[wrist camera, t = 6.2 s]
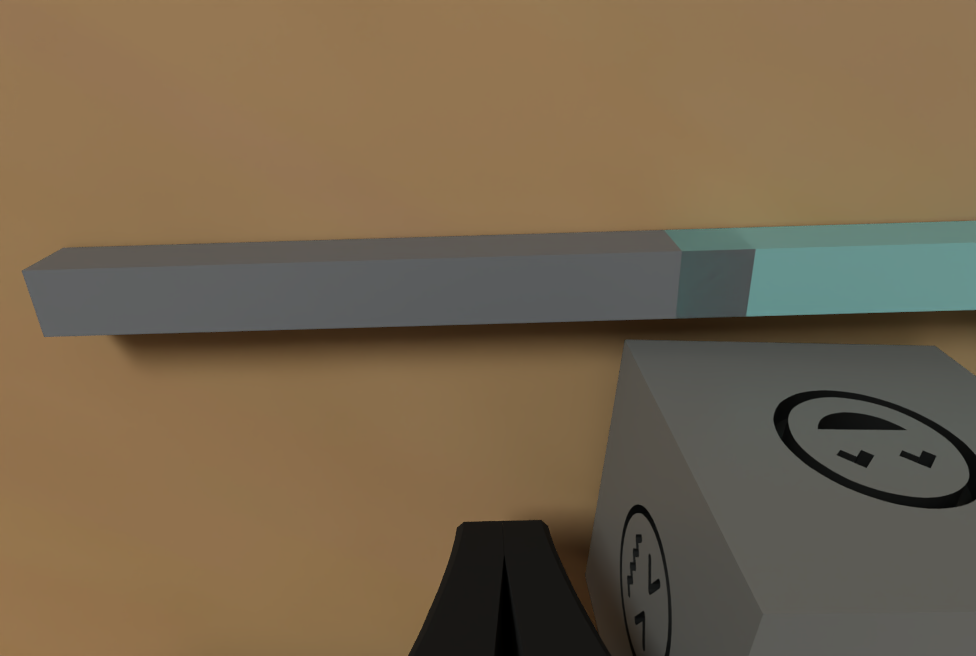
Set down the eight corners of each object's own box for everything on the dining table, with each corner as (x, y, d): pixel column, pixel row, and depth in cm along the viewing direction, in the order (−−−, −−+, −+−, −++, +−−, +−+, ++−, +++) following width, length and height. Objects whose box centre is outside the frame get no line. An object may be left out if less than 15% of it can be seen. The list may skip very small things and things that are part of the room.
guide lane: (957, 679, 14) (1008, 750, 13) (201, 699, 14) (171, 771, 13) (1135, 216, 10) (1238, 247, 9) (63, 247, 10) (-2, 284, 9)
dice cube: (841, 573, 13) (1048, 883, 9) (585, 575, 13) (662, 901, 8) (934, 345, 11) (1285, 608, 6) (624, 339, 10) (762, 614, 6)
